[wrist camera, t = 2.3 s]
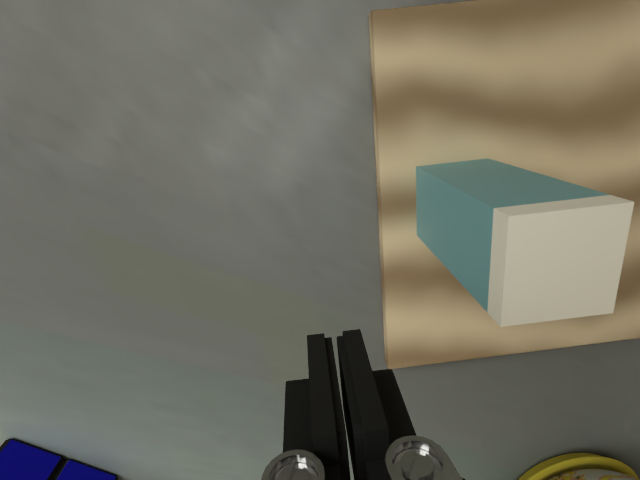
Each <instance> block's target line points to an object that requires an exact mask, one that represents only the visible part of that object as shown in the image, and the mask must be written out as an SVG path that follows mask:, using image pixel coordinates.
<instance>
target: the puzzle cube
mask: <svg viewBox="0 0 640 480" xmlns="http://www.w3.org/2000/svg"><path fill="white" fill-rule="evenodd" d="M0 480H118V478H117V476H116V475H113V474H110V473H108V472H105V471H102V470H99V469H96V468H93V467H91V466H88V465H85V464H82V463H79V462H77V461H74V460H71V459H68V460H65V461H64V459H63V457H62V456H60V455H57V454H54V453H51V452H49V451H46V450H43V449H40V448H37V447H34V446H32V445H29V444H26V443H23V442H20V441H18V440H15V439H8V440H6V441H5V442H4V443H3V444H2V445H1V447H0Z"/></svg>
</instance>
